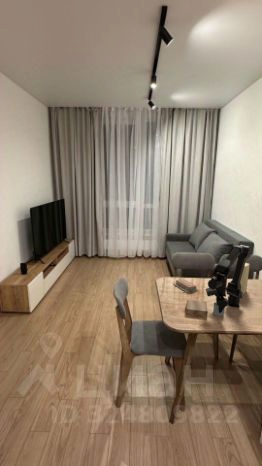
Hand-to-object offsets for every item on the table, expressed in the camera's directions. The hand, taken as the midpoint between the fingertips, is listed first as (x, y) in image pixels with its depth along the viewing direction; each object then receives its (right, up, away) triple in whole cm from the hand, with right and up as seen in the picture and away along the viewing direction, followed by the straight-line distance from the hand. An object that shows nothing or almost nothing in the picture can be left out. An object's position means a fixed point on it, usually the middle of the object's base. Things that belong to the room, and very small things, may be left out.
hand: (218, 308), depth 152 cm
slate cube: (0, -3, +1) cm, 3 cm away
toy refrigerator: (+26, +3, +31) cm, 41 cm away
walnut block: (-13, -2, +3) cm, 14 cm away
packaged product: (-12, +5, +37) cm, 39 cm away
